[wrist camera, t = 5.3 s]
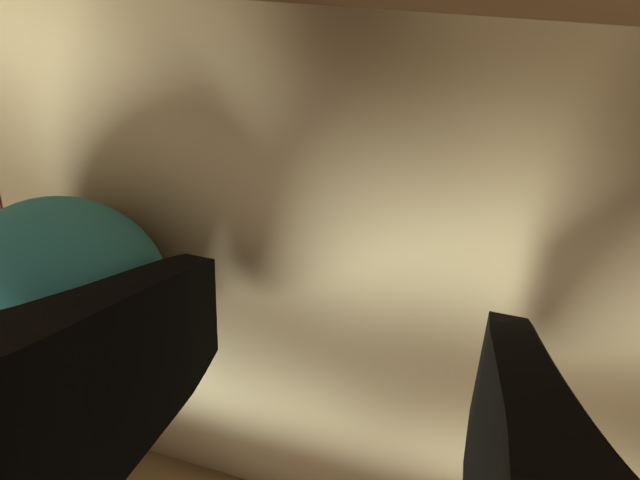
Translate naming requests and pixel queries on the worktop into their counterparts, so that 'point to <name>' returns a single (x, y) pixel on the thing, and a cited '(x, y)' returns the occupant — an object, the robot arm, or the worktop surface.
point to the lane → (352, 206)
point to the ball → (65, 246)
